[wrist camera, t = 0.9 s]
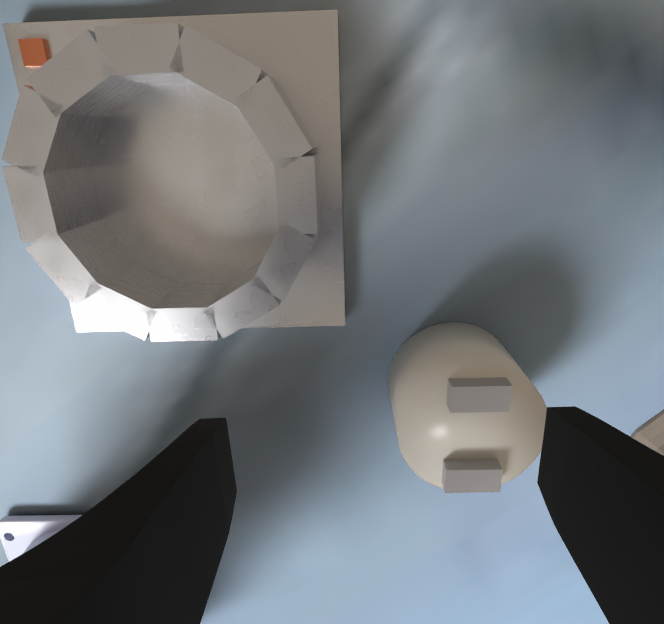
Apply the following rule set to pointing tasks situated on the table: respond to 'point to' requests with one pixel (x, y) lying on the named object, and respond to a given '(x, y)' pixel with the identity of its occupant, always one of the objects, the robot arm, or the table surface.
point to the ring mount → (182, 170)
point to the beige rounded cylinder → (464, 409)
